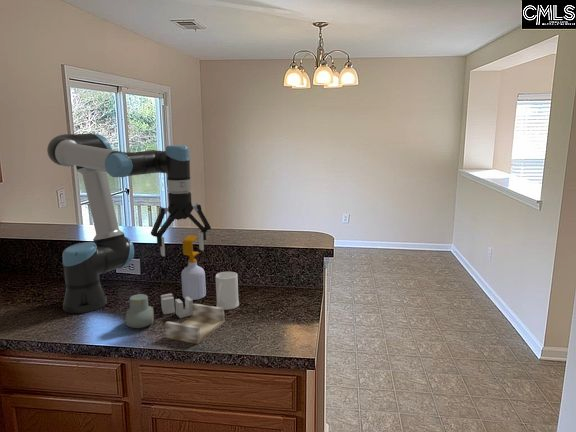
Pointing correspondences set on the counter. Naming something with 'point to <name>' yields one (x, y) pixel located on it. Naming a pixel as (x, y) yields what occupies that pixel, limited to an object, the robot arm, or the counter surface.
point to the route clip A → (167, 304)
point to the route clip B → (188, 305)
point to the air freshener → (139, 312)
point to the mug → (227, 290)
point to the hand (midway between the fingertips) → (182, 252)
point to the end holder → (196, 324)
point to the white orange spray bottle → (192, 273)
